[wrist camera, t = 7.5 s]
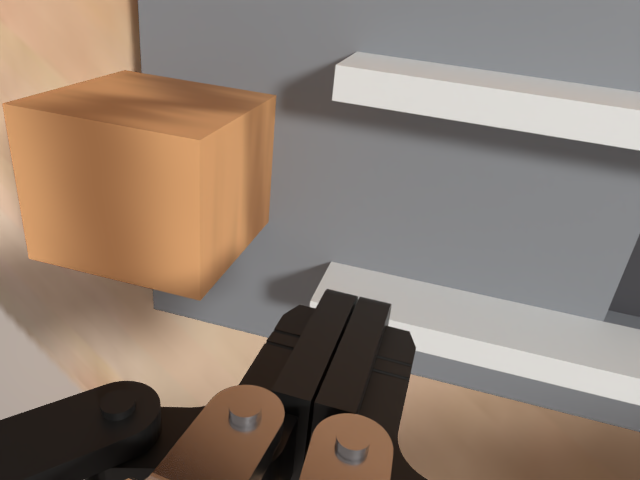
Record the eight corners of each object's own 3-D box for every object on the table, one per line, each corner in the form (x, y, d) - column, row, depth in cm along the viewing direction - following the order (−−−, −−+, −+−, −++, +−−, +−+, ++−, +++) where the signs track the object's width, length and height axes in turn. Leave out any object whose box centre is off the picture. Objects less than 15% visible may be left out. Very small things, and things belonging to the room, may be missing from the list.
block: (276, 95, 19) (199, 140, 14) (268, 221, 22) (200, 300, 16) (124, 70, 20) (2, 103, 15) (132, 193, 23) (28, 258, 18)
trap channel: (930, -13, 15) (1080, -7, 11) (686, 423, 22) (726, 513, 18) (152, -91, 19) (73, -106, 15) (166, 295, 26) (115, 347, 23)
